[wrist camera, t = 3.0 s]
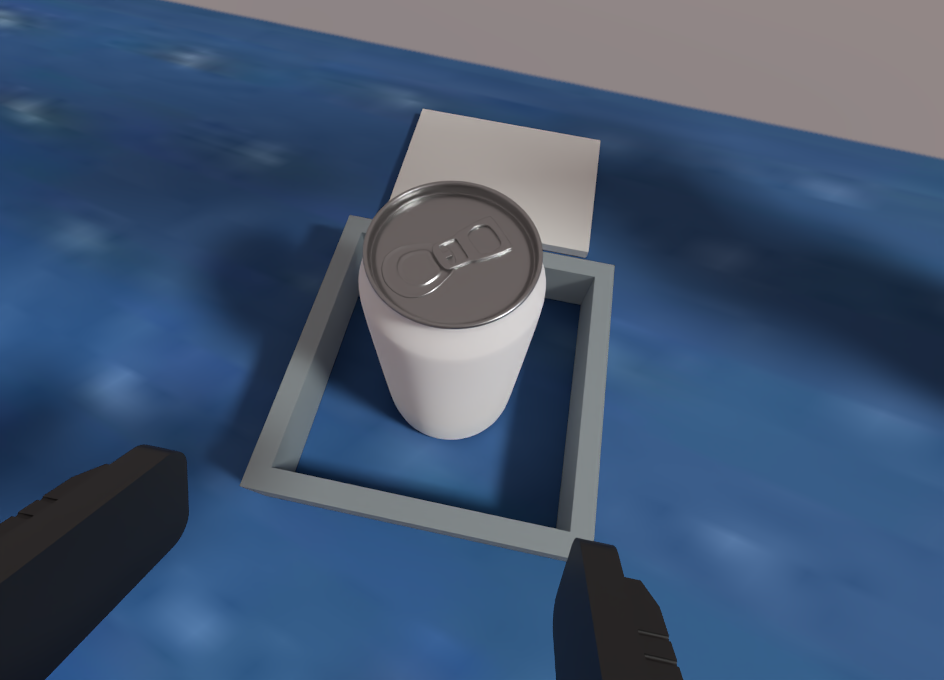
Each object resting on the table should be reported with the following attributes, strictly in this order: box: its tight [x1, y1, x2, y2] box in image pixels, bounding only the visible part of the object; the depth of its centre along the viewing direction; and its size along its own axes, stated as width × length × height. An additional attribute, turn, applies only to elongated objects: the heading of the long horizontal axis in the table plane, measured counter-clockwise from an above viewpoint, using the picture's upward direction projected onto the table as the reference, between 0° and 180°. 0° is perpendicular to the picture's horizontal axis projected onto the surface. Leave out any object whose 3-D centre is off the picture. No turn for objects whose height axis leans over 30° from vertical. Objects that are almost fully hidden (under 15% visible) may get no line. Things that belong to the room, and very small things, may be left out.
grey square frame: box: [240, 215, 615, 562], centre depth 24 cm, size 15×15×3 cm
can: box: [358, 181, 546, 440], centre depth 20 cm, size 6×6×12 cm
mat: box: [389, 109, 600, 258], centre depth 31 cm, size 13×10×1 cm
